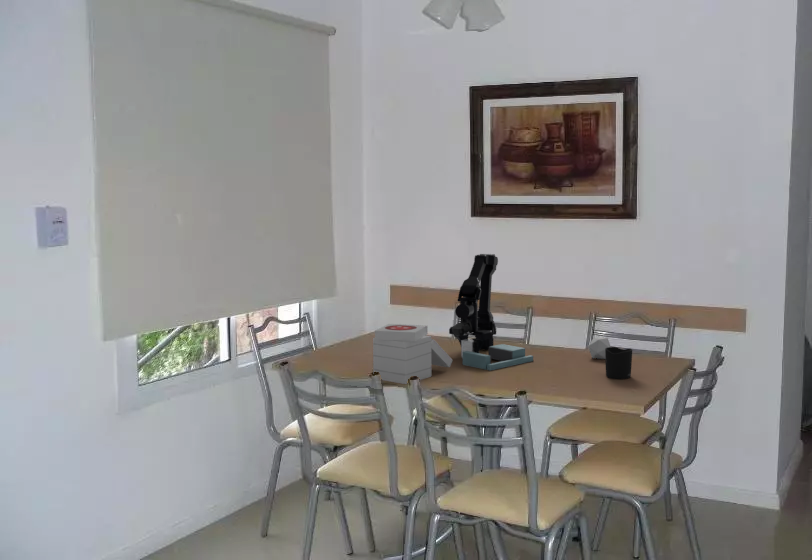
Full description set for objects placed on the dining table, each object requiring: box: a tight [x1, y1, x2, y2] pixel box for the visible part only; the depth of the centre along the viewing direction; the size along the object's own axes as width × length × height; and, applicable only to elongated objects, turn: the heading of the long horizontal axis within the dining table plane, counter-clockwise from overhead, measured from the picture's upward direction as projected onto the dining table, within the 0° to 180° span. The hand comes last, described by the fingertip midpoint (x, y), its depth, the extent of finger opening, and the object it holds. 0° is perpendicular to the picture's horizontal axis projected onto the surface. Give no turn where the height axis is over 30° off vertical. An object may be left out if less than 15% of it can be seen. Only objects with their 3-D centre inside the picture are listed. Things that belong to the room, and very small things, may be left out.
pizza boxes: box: [372, 323, 454, 385], centre depth 327 cm, size 19×30×18 cm, turn 141°
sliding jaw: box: [487, 343, 526, 362], centre depth 351 cm, size 12×8×5 cm, turn 42°
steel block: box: [460, 338, 475, 359], centre depth 356 cm, size 6×4×7 cm, turn 42°
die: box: [587, 336, 612, 360], centre depth 353 cm, size 8×9×10 cm
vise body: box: [462, 351, 534, 371], centre depth 346 cm, size 14×24×5 cm, turn 132°
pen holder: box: [604, 346, 633, 380], centre depth 321 cm, size 9×9×10 cm
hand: (470, 353), depth 357 cm, fingers open, 6 cm apart
